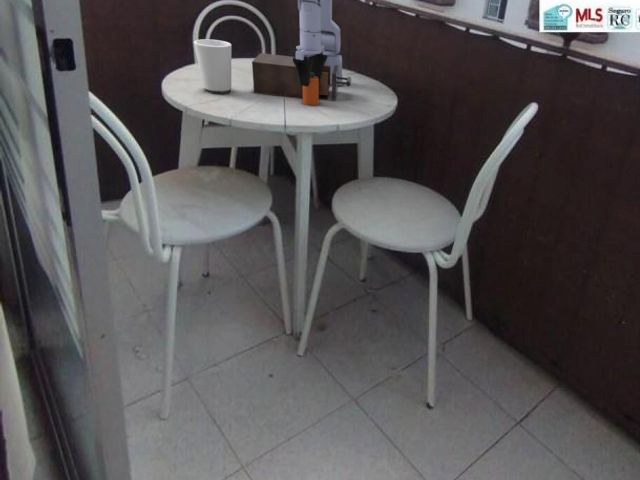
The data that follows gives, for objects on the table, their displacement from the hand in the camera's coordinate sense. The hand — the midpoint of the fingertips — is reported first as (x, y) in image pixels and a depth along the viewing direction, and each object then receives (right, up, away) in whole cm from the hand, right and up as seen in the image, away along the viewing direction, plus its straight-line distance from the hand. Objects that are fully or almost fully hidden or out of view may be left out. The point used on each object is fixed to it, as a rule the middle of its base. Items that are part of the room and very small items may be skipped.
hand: (310, 83), depth 148 cm
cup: (-28, -2, +2) cm, 28 cm away
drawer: (+1, +3, +12) cm, 13 cm away
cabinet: (-11, +3, +11) cm, 16 cm away
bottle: (-1, -4, +3) cm, 6 cm away
